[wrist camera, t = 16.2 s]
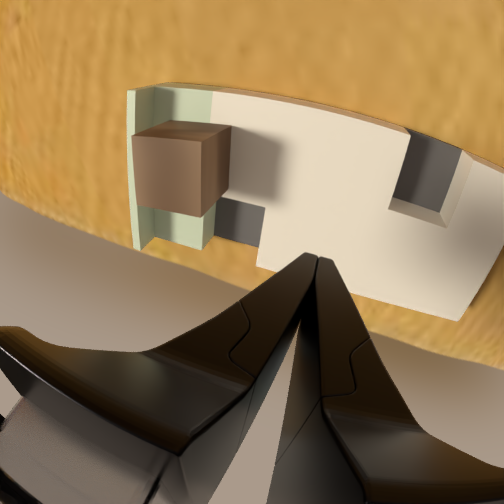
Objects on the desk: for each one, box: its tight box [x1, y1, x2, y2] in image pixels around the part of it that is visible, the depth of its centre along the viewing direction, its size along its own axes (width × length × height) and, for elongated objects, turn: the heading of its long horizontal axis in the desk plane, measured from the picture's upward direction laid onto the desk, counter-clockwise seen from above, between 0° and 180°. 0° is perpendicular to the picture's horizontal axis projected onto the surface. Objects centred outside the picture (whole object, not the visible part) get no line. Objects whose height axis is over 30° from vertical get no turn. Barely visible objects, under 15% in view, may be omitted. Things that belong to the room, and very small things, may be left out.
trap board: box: [127, 82, 504, 322], centre depth 18 cm, size 24×11×4 cm, turn 83°
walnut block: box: [131, 120, 232, 218], centre depth 17 cm, size 4×4×4 cm
